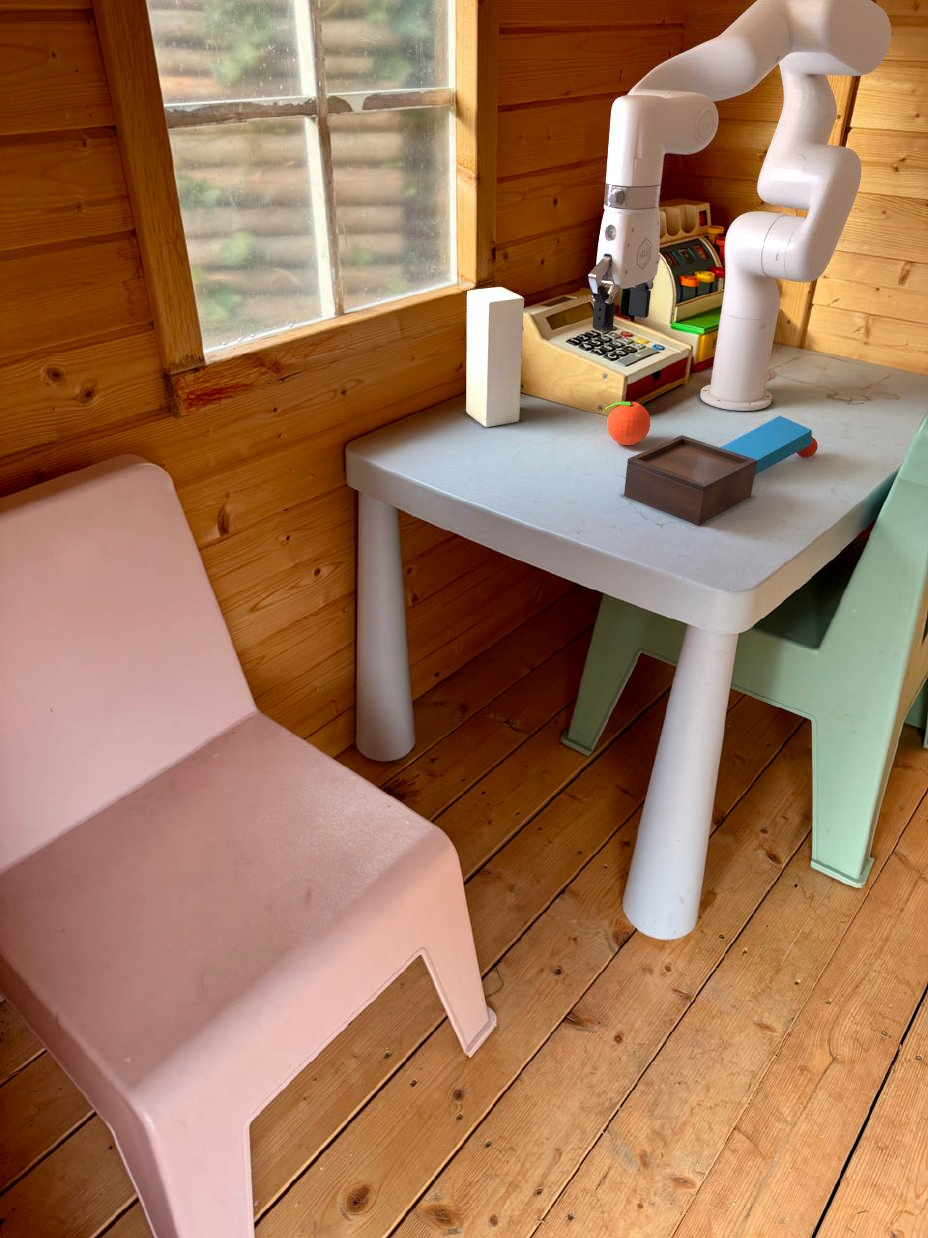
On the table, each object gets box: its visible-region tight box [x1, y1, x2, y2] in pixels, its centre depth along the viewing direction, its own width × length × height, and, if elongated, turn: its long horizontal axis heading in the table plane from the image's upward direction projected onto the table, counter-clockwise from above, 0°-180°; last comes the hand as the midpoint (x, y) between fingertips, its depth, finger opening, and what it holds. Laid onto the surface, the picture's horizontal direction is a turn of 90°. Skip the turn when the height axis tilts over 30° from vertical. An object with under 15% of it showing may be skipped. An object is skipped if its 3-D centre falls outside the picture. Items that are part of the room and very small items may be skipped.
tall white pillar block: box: [465, 286, 525, 428], centre depth 153 cm, size 8×7×21 cm
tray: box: [623, 434, 758, 526], centre depth 131 cm, size 13×13×6 cm
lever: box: [720, 415, 819, 476], centre depth 140 cm, size 7×7×18 cm
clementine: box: [601, 401, 651, 446], centre depth 147 cm, size 8×7×7 cm
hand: (620, 322), depth 135 cm, fingers open, 9 cm apart
